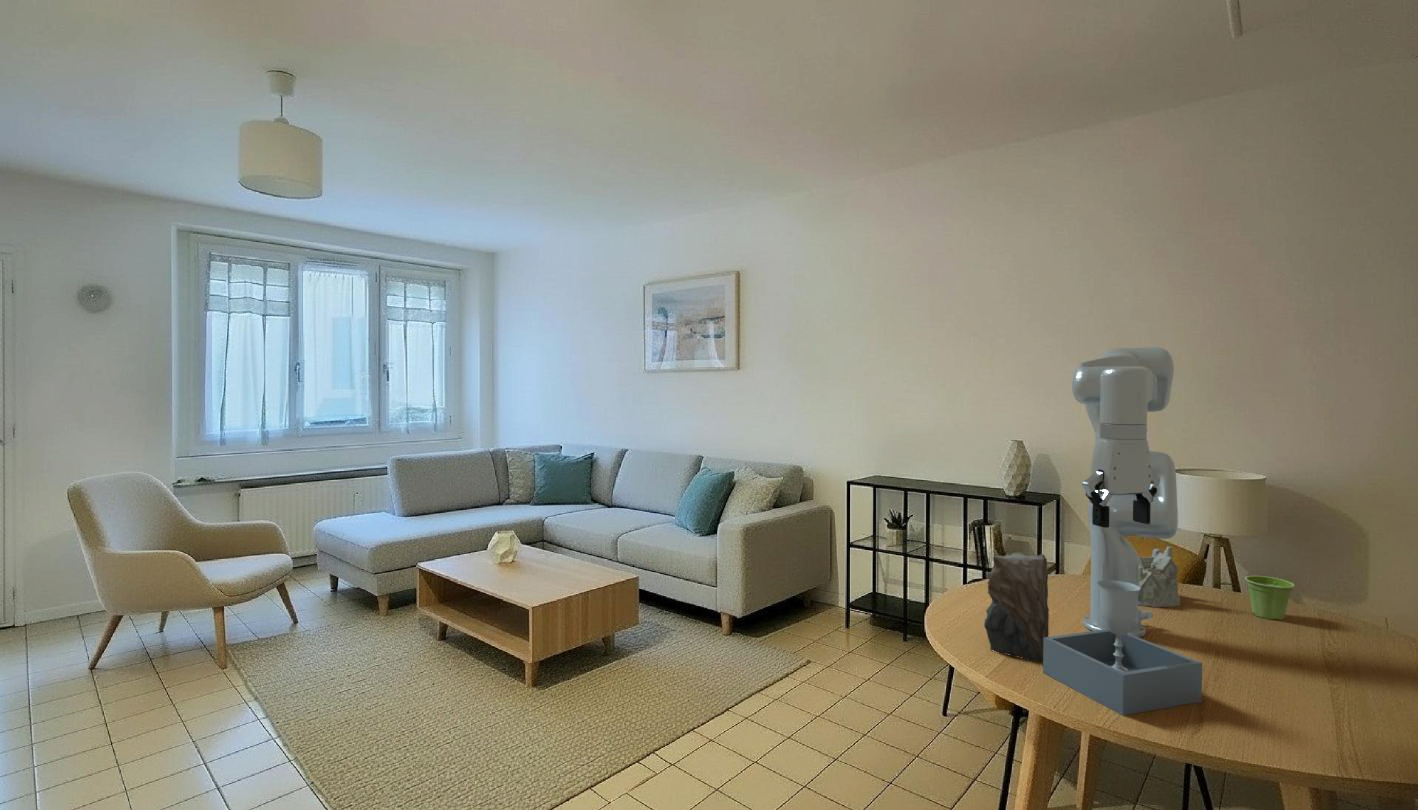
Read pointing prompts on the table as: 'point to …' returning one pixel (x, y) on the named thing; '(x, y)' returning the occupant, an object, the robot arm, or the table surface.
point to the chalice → (1118, 611)
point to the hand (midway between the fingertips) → (1121, 524)
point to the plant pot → (1269, 596)
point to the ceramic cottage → (1158, 580)
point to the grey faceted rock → (1018, 605)
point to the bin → (1143, 688)
